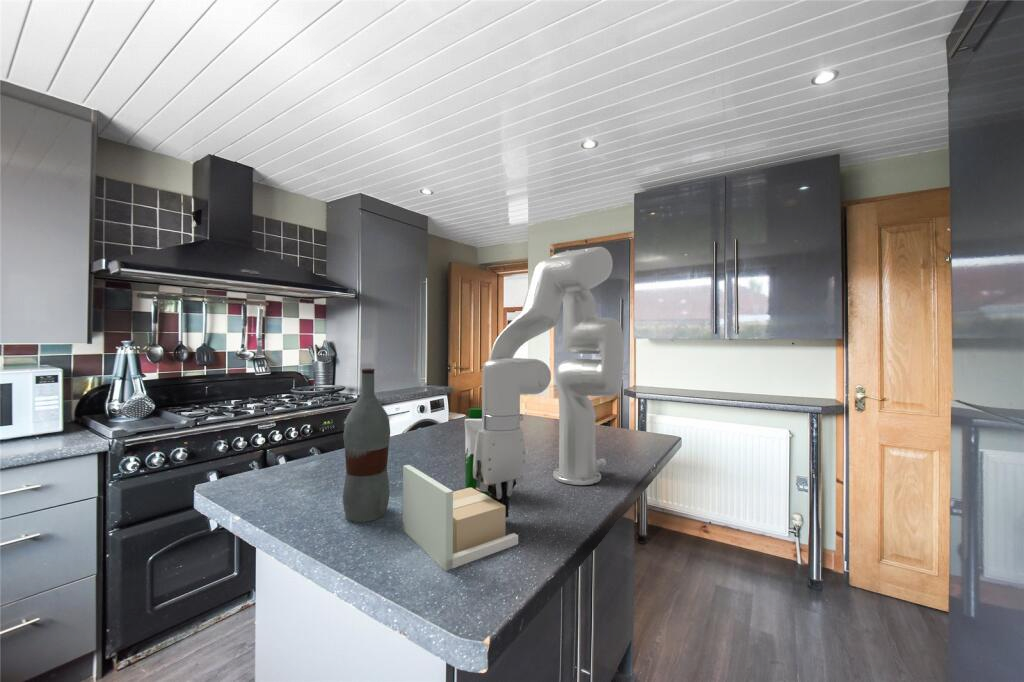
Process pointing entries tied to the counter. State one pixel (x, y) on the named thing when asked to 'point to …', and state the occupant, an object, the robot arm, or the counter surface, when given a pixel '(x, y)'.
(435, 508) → the display stand
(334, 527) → the counter surface
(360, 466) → the bottle
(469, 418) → the milk carton
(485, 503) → the kraft carton
